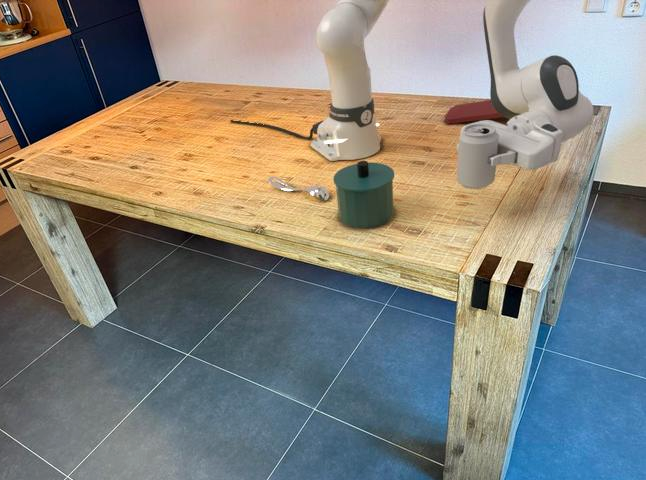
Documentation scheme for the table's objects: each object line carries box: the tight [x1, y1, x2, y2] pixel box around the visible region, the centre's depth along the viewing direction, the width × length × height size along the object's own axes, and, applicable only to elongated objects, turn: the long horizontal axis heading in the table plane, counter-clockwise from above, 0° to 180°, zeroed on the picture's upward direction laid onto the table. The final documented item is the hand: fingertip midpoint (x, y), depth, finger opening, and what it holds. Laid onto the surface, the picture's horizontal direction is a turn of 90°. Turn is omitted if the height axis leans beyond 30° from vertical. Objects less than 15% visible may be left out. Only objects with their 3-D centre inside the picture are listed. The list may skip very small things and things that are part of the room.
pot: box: [335, 179, 395, 229], centre depth 116 cm, size 12×12×10 cm
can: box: [456, 123, 499, 190], centre depth 104 cm, size 8×8×12 cm
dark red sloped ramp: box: [444, 99, 504, 125], centre depth 152 cm, size 12×5×25 cm
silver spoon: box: [267, 176, 330, 201], centre depth 132 cm, size 20×4×5 cm
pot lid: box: [333, 160, 395, 192], centre depth 112 cm, size 13×13×4 cm
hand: (474, 155), depth 103 cm, fingers closed on can, 7 cm apart
